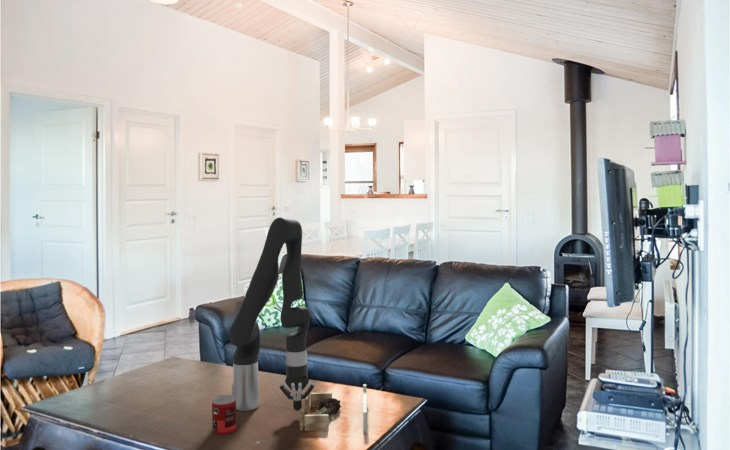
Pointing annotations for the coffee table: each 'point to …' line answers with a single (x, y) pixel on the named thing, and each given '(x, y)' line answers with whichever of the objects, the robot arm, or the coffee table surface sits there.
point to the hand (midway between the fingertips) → (297, 409)
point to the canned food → (224, 414)
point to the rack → (364, 408)
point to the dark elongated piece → (329, 406)
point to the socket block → (315, 419)
